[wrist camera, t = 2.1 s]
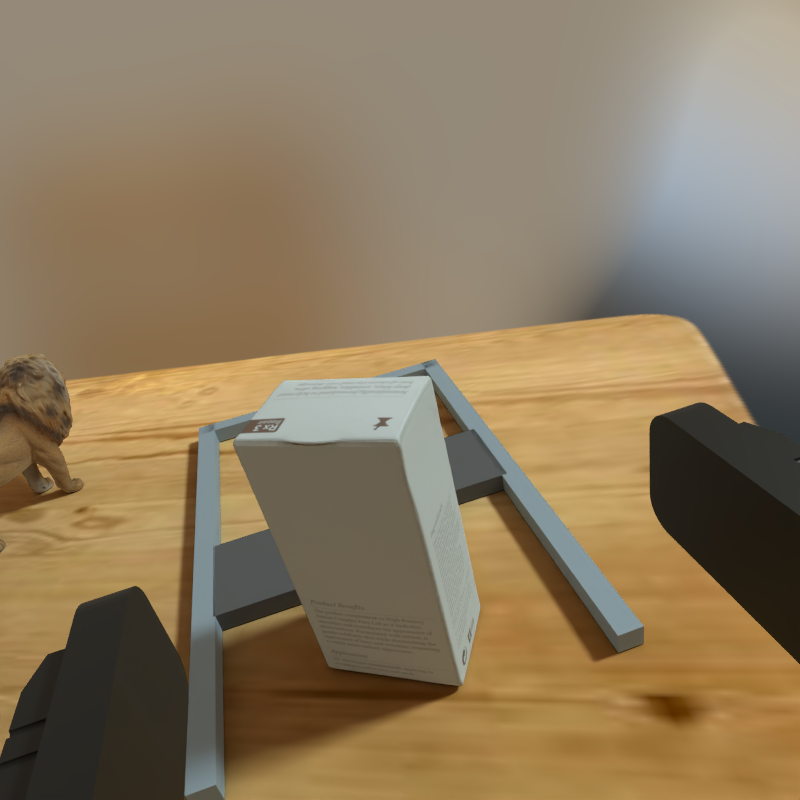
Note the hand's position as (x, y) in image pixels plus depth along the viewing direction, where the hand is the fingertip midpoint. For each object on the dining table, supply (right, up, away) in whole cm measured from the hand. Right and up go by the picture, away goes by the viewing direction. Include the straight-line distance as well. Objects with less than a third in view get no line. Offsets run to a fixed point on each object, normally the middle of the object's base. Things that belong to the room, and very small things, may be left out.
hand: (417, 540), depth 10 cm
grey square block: (-7, -7, +22) cm, 24 cm away
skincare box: (0, -8, +18) cm, 19 cm away
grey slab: (+3, -2, +27) cm, 27 cm away
